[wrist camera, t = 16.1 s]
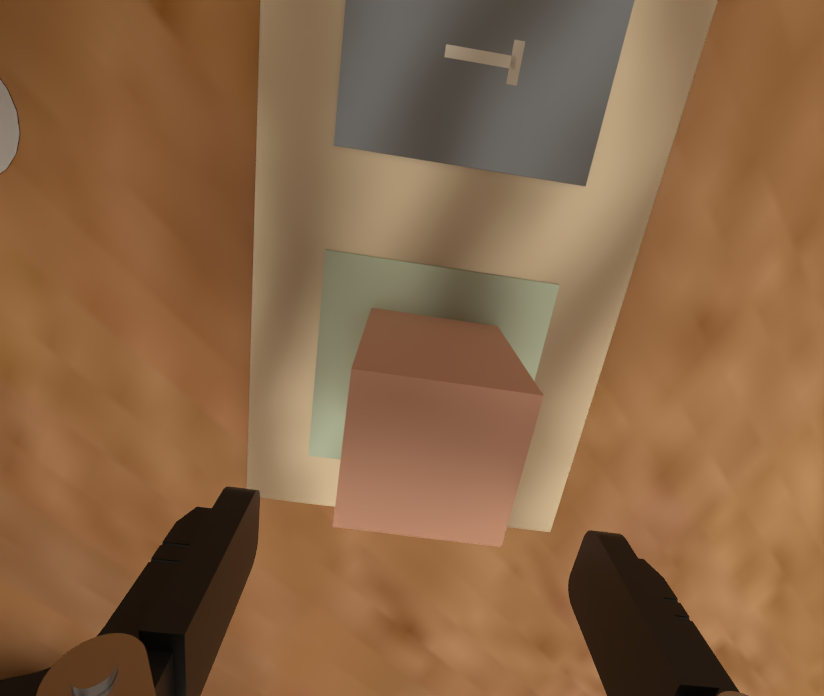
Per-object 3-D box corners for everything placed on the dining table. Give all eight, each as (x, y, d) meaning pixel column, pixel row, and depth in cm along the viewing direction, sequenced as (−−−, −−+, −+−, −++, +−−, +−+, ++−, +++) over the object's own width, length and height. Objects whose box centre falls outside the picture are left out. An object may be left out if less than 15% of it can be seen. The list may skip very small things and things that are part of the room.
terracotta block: (357, 421, 21) (332, 527, 14) (371, 307, 19) (351, 368, 12) (472, 436, 21) (501, 547, 15) (498, 326, 19) (543, 395, 13)
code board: (250, 488, 23) (245, 498, 22) (276, -338, 13) (268, -370, 12) (546, 524, 24) (551, 534, 23) (779, -227, 14) (801, -252, 13)
